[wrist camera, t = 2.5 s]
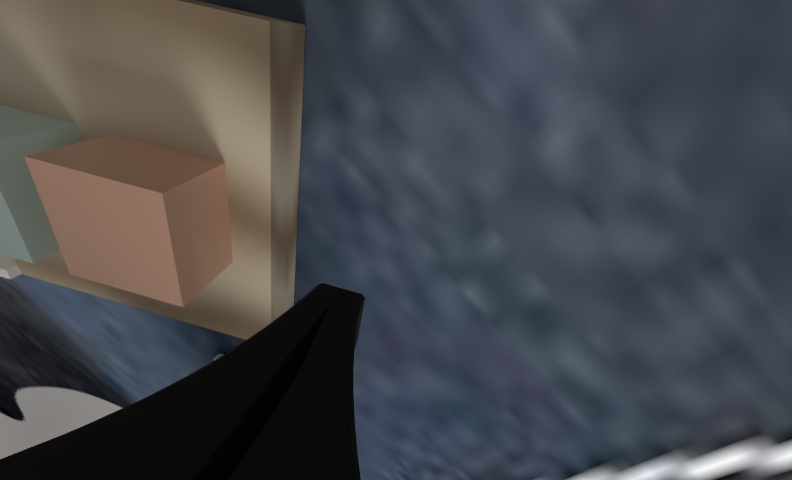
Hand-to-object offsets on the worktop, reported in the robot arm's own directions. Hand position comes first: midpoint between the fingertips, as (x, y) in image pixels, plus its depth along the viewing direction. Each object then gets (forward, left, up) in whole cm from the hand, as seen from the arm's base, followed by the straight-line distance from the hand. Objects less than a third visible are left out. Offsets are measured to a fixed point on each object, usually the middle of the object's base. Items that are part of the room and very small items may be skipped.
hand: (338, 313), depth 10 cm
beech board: (0, +11, -6) cm, 13 cm away
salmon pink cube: (0, +8, -4) cm, 9 cm away
